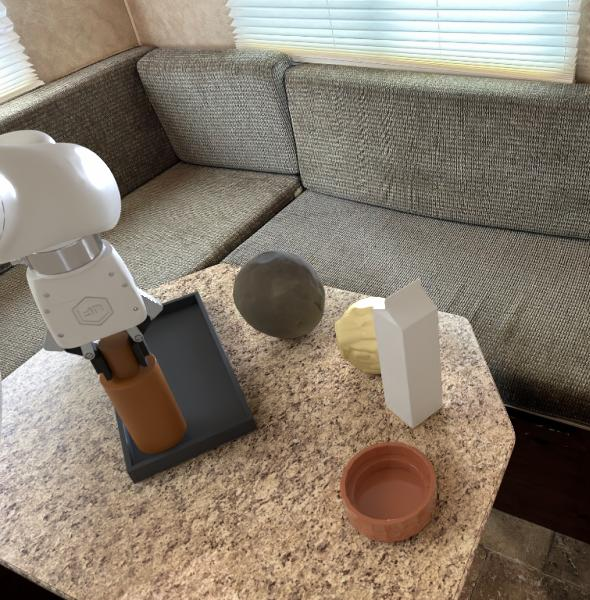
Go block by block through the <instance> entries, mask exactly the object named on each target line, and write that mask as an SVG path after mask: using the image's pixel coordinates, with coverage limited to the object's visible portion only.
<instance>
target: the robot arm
mask: <svg viewBox="0 0 590 600" xmlns="http://www.w3.org/2000/svg"><path fill="white" fill-rule="evenodd" d="M121 199H122V198H121V194H120V189H119V186H118V184H117V181H116V179H115V177H114V174H113V173H112V172H111V170H110V168H109V167H108V166H107V164H106V163H105V162H104V160H102V159H101V157H99V156H98V155H97V154H96V153H95V152H93V151H92V150H90V148H87V147H84V146H82V145H80V144H78V143H72V142H56V141H55V140H54V139H53V138H52V137H51V136H50V135H49V134H47V133H46V132H43V131H40V130H37V129H36V130H35V129H23V130H22V129H21V130H14V131H10V132H6V133H2V134H0V265H2V264H3V265H4V264H7V263H10V264H11V266H16V265H19V264H20V265H25V266H26V267H27V268H26V274H25V276H26V280H27V281H26V282H27V284H28V287H29V289H30V292H31V296H32V297H33V299H34V303H35V304H36V306H37V309H38V311H39V313H40V315H41V317H42V319H43V321H44V323H45V325H46V326H45V331H44V336H43V340H42V343H43V345H42V346H43V350H44V351H46V352H59V353H60V352H65V353H67V354H71V355H75V356H80V357H83V358H84V360H86V361H89V362H90V363H91V365H92V367H93V369H94V371H95V372H96V374H97V375H100V373H103V375H104V376H105V378H106V380H107V381H109V380H112V378H113V375H112V372H111V370H110V368H109V366H108V365H107V363H106V361H105V359H104V357H103V355H102V354H101V352H100V350H99V348H98V342H96V341H100V339H102V338H105V337H107V336H110V335H113V334H116V333H118V332H121V331H124V330H126V331H127V332H128V334H129V338H130V342H131V346H132V348H133V350H134V352H135V354H136V356H137V358H138V360H139V362H140V364H141V366H142V367H143V366H144V367H146V366H148V363H147V360H146V356H148V355H150V352H149V349H148V347H147V345H146V342H145V340H144V336H143V335H144V333H145V332H146V330H147V328H148V327H149V325H150V323H151V320H152V319H154V318H155V317H156V316H157V315H158V314H159V313H160V312H161V311H162V310H163V307H162V301H161V300H159V299H158V298H156V297H155V296H153V295H151V294H149V293H147V292H145V291H144V290H142V289H140V288H139V286H138V285H137V283H136V281H135V279H134V277H133V275H132V274H131V272H130V270H129V268H128V266H127V265H126V263H125V262H124V260H123V259H122V257H121V255H120V254H119V253H118V252H117V250H116V249H115V247H114V246H113V245H112V244H111V242H110V241H108V240H107V239H106V238H102V237H101V235H100V233H104V232H107V231H110V230H112V229H114V228H115V227H116V226H117V224H118V223H119V221H120V217H121V212H122V200H121ZM3 401H4V399H3V379H2V373H1V371H0V444H1V443H2V442H1V440H2V424H3V403H4V402H3Z"/></svg>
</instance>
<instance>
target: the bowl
mask: <svg viewBox="0 0 590 600" xmlns="http://www.w3.org/2000/svg"><path fill="white" fill-rule="evenodd" d="M340 477H341V478H340V482H339V487H340V488H339V489H340V496H341V501H342V505H343V508H344V512H345V515H346V517H347V519H348V521H349V523H350V526H351V527H352V528H353V529H355V530H356V531H357V532H358V533H359V534H360V535H362V536H363V537H365V538H368V539H369V540H372V541H376V542H384V543H394V542H399V541H404V540H407V539H410V538H411V537H413V536H415V535H416V534H418V533H420V532H421V531H422V530H423V529H424V528H425V527H426V525H428V524H429V523H430V521H431V520H432V518H433V516H434V514H435V511H436V509H437V501H438V489H437V475H436V473H435V470H434V466H433V464H432V462H431V461H430V460H429V458H428V457H427V454H425V453H424V452H423V451H422V450H419V448H417V447H415V446H414V445H411V444H407V443H405V442H401V441H383V442H377V443H373V444H371V445H369V446H367V447H365V448H363V449H361V450H360V451H359V452H357V453H356V454H355V455H354V456H353V457H351V458H350V459H349V461H348V462H347V464H346V465H345V467H344V469H343V470H342V474H341V476H340Z"/></svg>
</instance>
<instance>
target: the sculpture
mask: <svg viewBox="0 0 590 600" xmlns="http://www.w3.org/2000/svg"><path fill="white" fill-rule="evenodd" d="M385 299H386V297H385V298H384V297H380V296H379V297H375V296H372V297H367V298H362V299H360V300H357V301H356V302H354V303H352V304H351V305H350V306H349V307H348V308H347V309H346V310H345V312H343V314H342V316H341V318H339V319H338V320H337V321H336V322H335V323H334V333H335V335H336V344H337V348H338V350H339V354H340V357H341V358H342V360H345V361H347V362H348V364H350V365H351V366H352V367H353V368H356V369H357V370H358V371H361V372H364V373H365V374H373V375H379V374H380V375H381V368H380V361H379V355H378V348H377V341H376V334H375V327H374V320H373V313H372V309H373V308H374V307H376V306H378V305H379V304H381V303H382V302H384V300H385Z"/></svg>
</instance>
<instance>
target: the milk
mask: <svg viewBox="0 0 590 600" xmlns="http://www.w3.org/2000/svg"><path fill="white" fill-rule="evenodd" d="M372 313H373V320H374V327H375V334H376V341H377V348H378V355H379V361H380V368H381V373H380V375H381V382H382V388H383V389H382V390H383V395H384V403H385V407H386V408H387V409H389V411H391V412H392V414H394V415H395V416H397V418H399V419H400V420H401V421H402V422H404V423H405V424H406V425H407V426H408V427H409V428H410V429H412V430H414V429H415V428H416V427H418V426H419V425H420V424H422V423H423V422H424V421H426V420H427V419H429V418H430V417H432V415H434V414H435V413H436V412H438V411H439V410H441V408H443V406H444V400H443V384H442V365H441V348H440V346H441V345H440V344H441V343H440V328H439V327H440V325H439V311H438V306H437V304H435V303H434V301H433V300H432V299H431V297H430V296H429V295H428V294H427V293H426V291H425V290H424V289H423V287H422V280H421V278H417V279H415V280H414V281H412V282H411V283H409V284H407V285H405V286H404V287H402V288H401V289H399V290H397V291H395V292H393V293H392V294H391V295H389V296H387V297H385V300H384V302H382V303H381V304H379V305H378V306H376V307H374V308H373V309H372Z"/></svg>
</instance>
